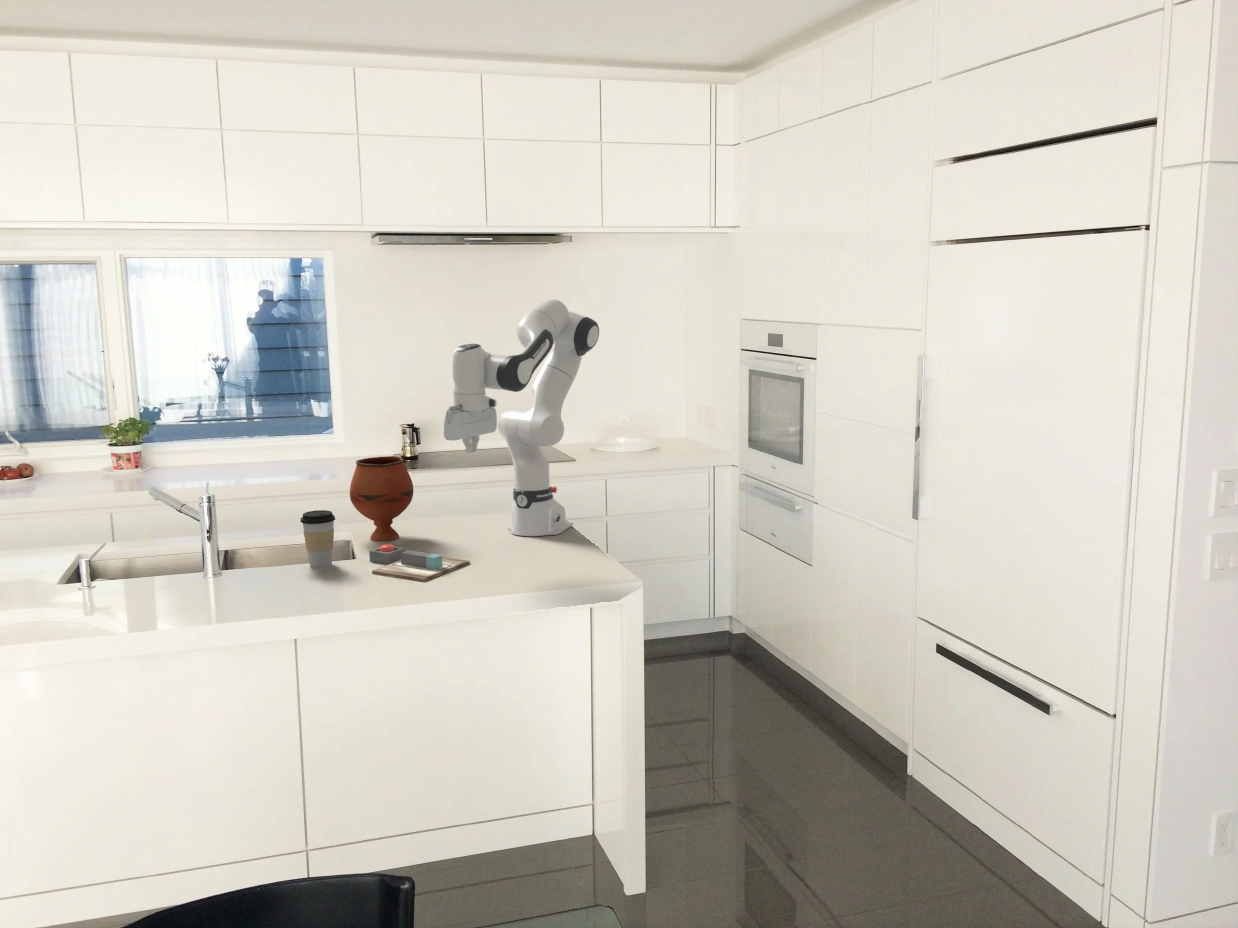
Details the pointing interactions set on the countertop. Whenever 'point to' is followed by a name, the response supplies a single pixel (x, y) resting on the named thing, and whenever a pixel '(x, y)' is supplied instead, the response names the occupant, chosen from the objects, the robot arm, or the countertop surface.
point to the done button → (386, 548)
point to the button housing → (386, 555)
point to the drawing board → (420, 570)
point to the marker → (421, 559)
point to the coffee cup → (319, 537)
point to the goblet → (381, 493)
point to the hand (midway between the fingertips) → (471, 452)
